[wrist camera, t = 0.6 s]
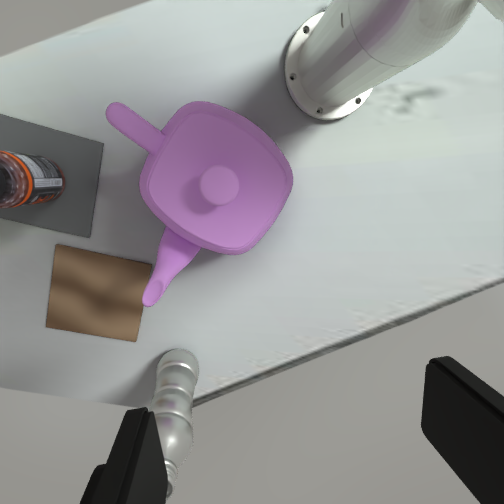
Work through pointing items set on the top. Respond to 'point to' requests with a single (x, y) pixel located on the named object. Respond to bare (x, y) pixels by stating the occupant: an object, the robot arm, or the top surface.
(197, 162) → the teapot
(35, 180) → the supplement bottle
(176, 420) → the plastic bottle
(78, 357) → the top surface
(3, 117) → the dot mat
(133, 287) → the walnut board
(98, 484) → the robot arm
